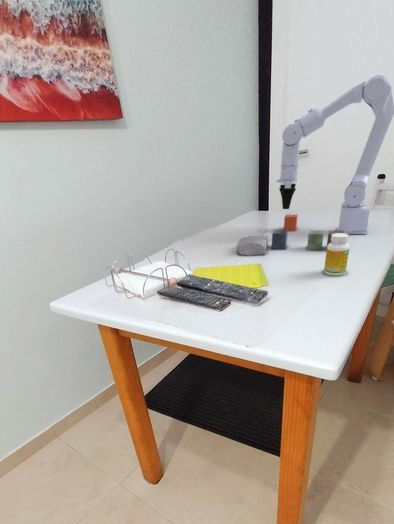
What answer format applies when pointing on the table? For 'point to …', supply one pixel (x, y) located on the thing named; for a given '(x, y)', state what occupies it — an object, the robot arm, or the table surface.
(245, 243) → the stone block
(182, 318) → the table surface
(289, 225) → the terracotta block
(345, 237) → the supplement bottle
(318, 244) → the block row
